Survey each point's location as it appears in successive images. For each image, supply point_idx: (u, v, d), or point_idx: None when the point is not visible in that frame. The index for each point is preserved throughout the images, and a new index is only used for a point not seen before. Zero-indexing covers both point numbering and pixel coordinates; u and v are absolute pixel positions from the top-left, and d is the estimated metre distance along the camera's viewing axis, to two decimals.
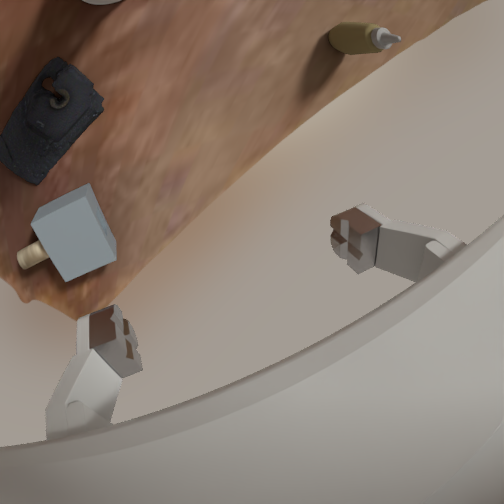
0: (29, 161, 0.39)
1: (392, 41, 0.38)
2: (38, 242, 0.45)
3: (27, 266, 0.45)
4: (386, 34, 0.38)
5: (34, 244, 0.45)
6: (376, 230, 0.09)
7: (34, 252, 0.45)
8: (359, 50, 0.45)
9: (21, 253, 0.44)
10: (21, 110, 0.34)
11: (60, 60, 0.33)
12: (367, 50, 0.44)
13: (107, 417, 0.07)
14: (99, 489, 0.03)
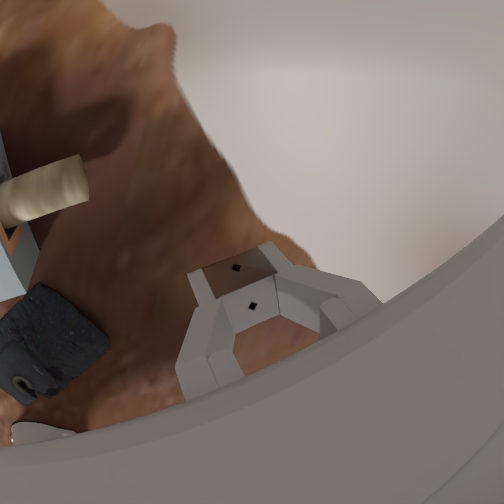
0: (48, 330, 0.27)
1: None
2: (28, 220, 0.20)
3: (62, 175, 0.18)
4: None
5: (38, 216, 0.20)
6: (270, 278, 0.08)
7: (35, 212, 0.18)
8: None
9: (73, 204, 0.20)
10: (71, 374, 0.33)
11: None
12: None
13: None
14: (99, 489, 0.03)
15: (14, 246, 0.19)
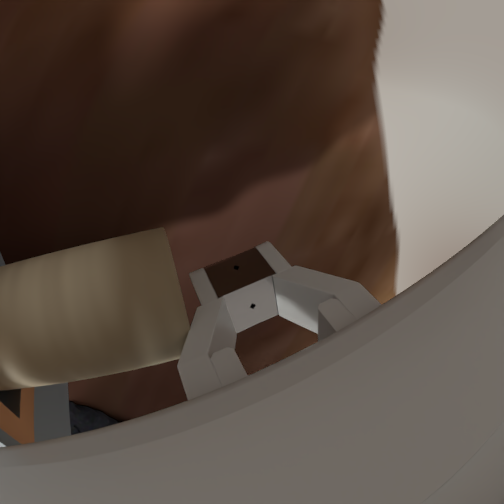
0: None
1: None
2: None
3: (135, 312, 0.07)
4: None
5: None
6: (268, 279, 0.08)
7: (55, 383, 0.07)
8: None
9: None
10: None
11: None
12: None
13: None
14: (99, 489, 0.03)
15: (32, 417, 0.07)
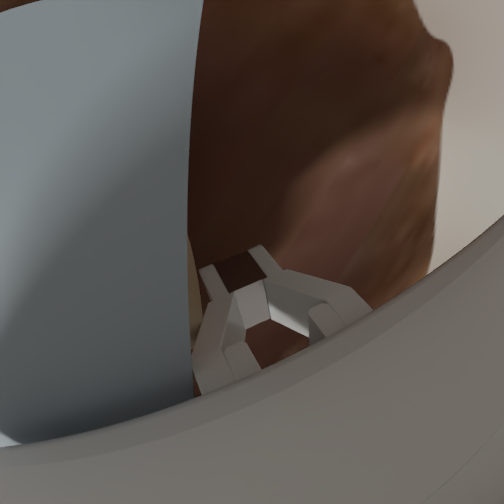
0: None
1: None
2: None
3: None
4: None
5: None
6: (259, 283, 0.08)
7: None
8: None
9: None
10: None
11: None
12: None
13: None
14: (99, 489, 0.03)
15: None
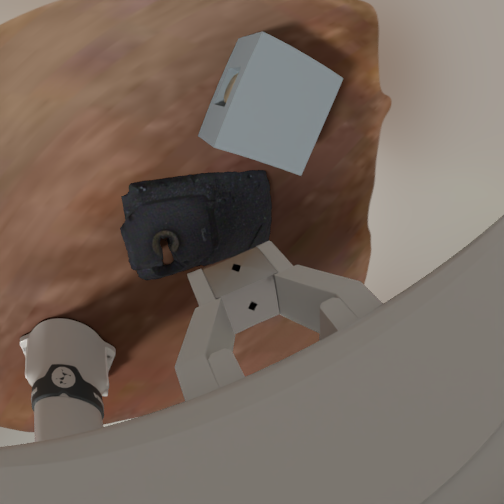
0: (248, 206, 0.41)
1: None
2: None
3: None
4: None
5: None
6: (270, 278, 0.08)
7: None
8: None
9: None
10: (209, 258, 0.44)
11: (139, 272, 0.41)
12: None
13: None
14: (99, 489, 0.03)
15: None
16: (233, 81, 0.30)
